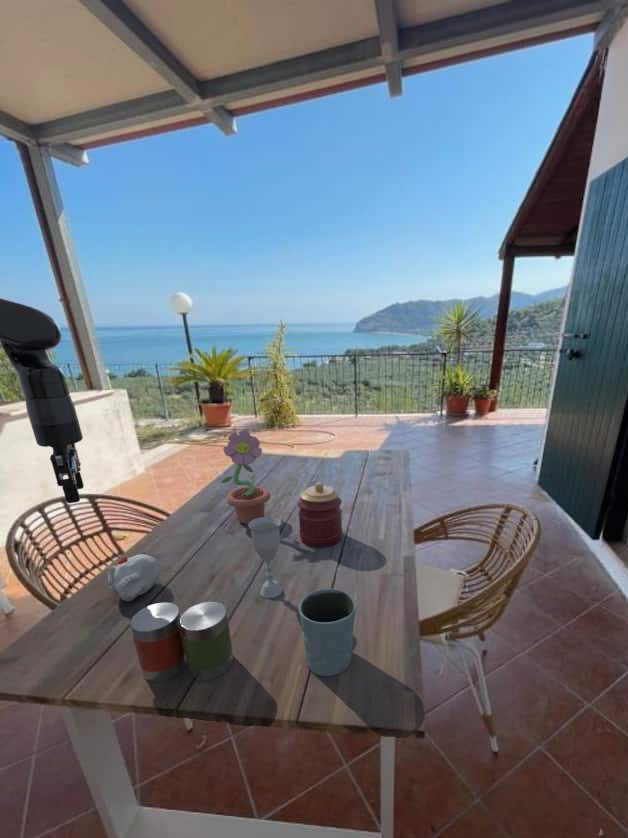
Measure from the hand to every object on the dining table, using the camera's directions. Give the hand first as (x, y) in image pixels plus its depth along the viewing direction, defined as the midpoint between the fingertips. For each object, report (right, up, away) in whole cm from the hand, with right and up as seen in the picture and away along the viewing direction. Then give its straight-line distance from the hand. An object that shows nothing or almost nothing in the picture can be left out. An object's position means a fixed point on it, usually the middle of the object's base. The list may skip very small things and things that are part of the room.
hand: (76, 495), depth 82 cm
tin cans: (+29, -31, -11) cm, 43 cm away
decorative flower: (+23, -10, +48) cm, 54 cm away
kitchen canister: (+48, -14, +36) cm, 62 cm away
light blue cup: (+55, -31, -9) cm, 63 cm away
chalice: (+39, -24, +10) cm, 47 cm away
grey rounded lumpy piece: (+6, -23, +12) cm, 27 cm away
